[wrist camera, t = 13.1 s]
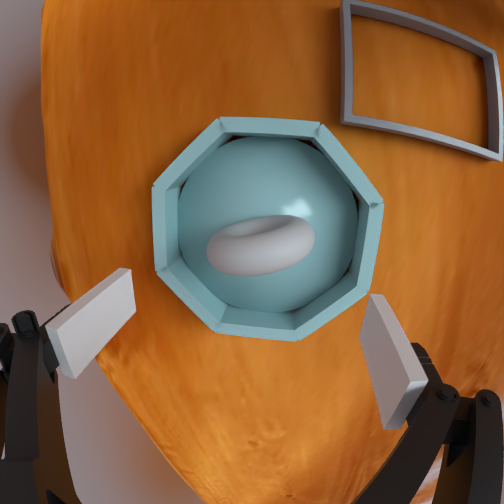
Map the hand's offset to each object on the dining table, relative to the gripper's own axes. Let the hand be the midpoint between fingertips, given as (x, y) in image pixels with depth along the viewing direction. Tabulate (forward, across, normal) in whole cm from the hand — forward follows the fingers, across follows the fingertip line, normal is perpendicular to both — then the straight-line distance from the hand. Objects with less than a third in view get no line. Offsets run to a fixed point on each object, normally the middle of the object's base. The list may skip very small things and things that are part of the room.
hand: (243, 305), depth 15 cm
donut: (+17, 0, 0) cm, 17 cm away
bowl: (+18, 0, 0) cm, 18 cm away
